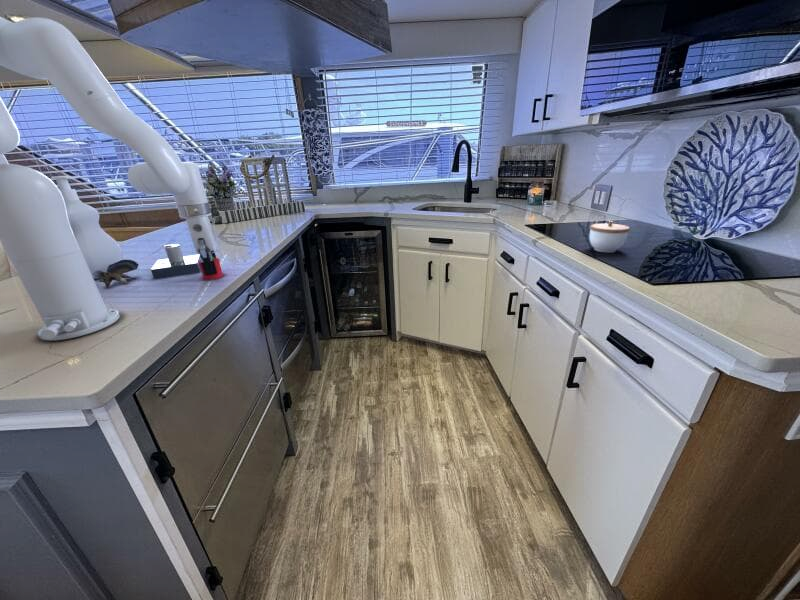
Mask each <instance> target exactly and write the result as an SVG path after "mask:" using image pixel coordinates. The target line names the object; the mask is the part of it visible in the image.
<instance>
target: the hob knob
mask: <svg viewBox="0 0 800 600" xmlns="http://www.w3.org/2000/svg"><path fill="white" fill-rule="evenodd" d="M163 247H164V251H165V254H166V257H167V259H168V260H169V263H178V262H182V261H184V258H183V257H184V255H183V252H182V249H181V246H180V244H178V243H177V244H167V245H165V244H164V246H163Z"/></svg>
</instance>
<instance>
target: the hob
mask: <svg viewBox="0 0 800 600" xmlns="http://www.w3.org/2000/svg"><path fill="white" fill-rule="evenodd" d="M183 258H184V261H182V262H178V263H169V260H168V258H163V259H157V260H156V262H155V263H154V264H153V266H152V267H151V269H150V272H151V274H152V277H153V279H154V280H159V279H163V278H171V277H177V276H184V275H190V274H194V273H195V274H196V273H197V274H198V273H201V269H200V266H199V262H198V261H200V260H201V259H200V254H193V255H185V256H183Z"/></svg>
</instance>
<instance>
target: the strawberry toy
mask: <svg viewBox="0 0 800 600" xmlns="http://www.w3.org/2000/svg"><path fill="white" fill-rule="evenodd" d="M212 259H213V260H214V262H215V266H216V269H217V274H215V275H209V276H205V275H204V271H203V268H202V265H201V260H200V261H198V262H199V266H200V273H201V275H202V278H203V280H205V281H211V280H217V279H220V278H222V277H224V273H223V269H222V266H221V262H220V258H219V257H216V258H214V257H213V256H212Z"/></svg>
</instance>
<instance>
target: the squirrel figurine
mask: <svg viewBox="0 0 800 600" xmlns="http://www.w3.org/2000/svg"><path fill="white" fill-rule="evenodd" d="M138 268H139V263H137V261H135V260H132V259H123V260H120V261H118V262H116V263H114V264H111V265H109V266H108V269H107V272H103V271H100V270H97V271H95V272H93V275H94V276H95V277H97V279H101V280H99V281H98V282H99V283H104V284H105V289H108V288H110V286H111V283H112V282H113V281H116V282H121V283H124V284H126V285H128V282H127V280H126V279H137V277H134V276H130V275H128V274H126V273H130V272H133V271H136V270H138Z"/></svg>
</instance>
